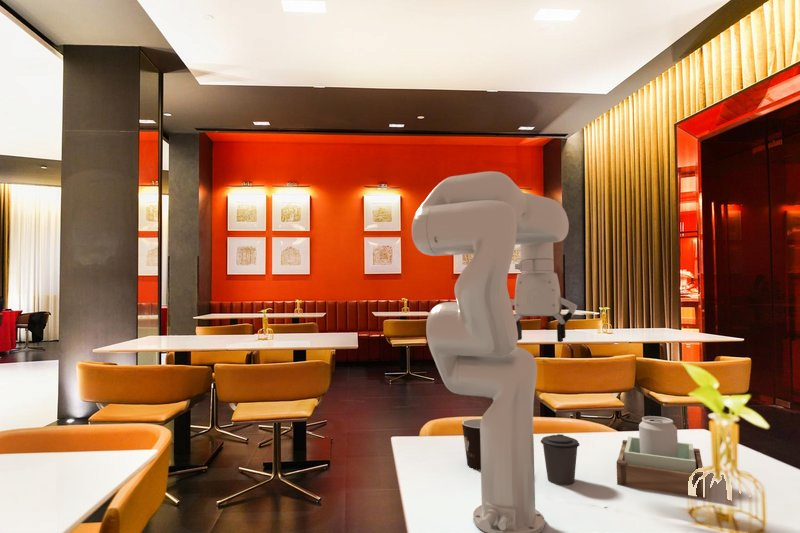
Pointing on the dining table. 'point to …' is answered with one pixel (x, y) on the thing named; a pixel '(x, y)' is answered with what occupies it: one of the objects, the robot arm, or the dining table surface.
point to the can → (658, 436)
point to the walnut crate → (658, 476)
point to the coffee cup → (560, 458)
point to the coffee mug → (472, 442)
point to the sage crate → (661, 457)
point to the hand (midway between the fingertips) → (539, 340)
